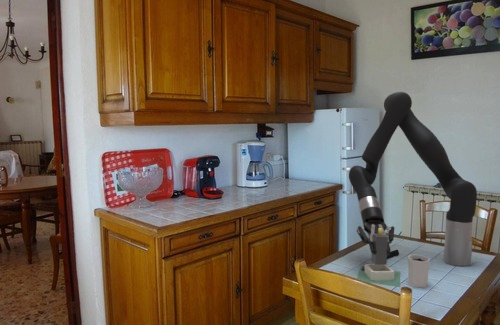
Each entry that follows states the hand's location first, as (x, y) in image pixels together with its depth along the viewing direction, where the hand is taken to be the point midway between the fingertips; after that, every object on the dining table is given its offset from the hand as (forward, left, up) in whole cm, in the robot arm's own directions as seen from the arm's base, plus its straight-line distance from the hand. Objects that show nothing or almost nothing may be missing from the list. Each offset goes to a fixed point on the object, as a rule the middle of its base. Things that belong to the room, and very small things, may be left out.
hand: (381, 253), depth 135 cm
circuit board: (+1, -2, -10) cm, 10 cm away
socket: (+1, -2, -9) cm, 9 cm away
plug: (+1, -2, -4) cm, 4 cm away
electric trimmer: (-1, -24, -10) cm, 26 cm away
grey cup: (-12, 0, -10) cm, 16 cm away
